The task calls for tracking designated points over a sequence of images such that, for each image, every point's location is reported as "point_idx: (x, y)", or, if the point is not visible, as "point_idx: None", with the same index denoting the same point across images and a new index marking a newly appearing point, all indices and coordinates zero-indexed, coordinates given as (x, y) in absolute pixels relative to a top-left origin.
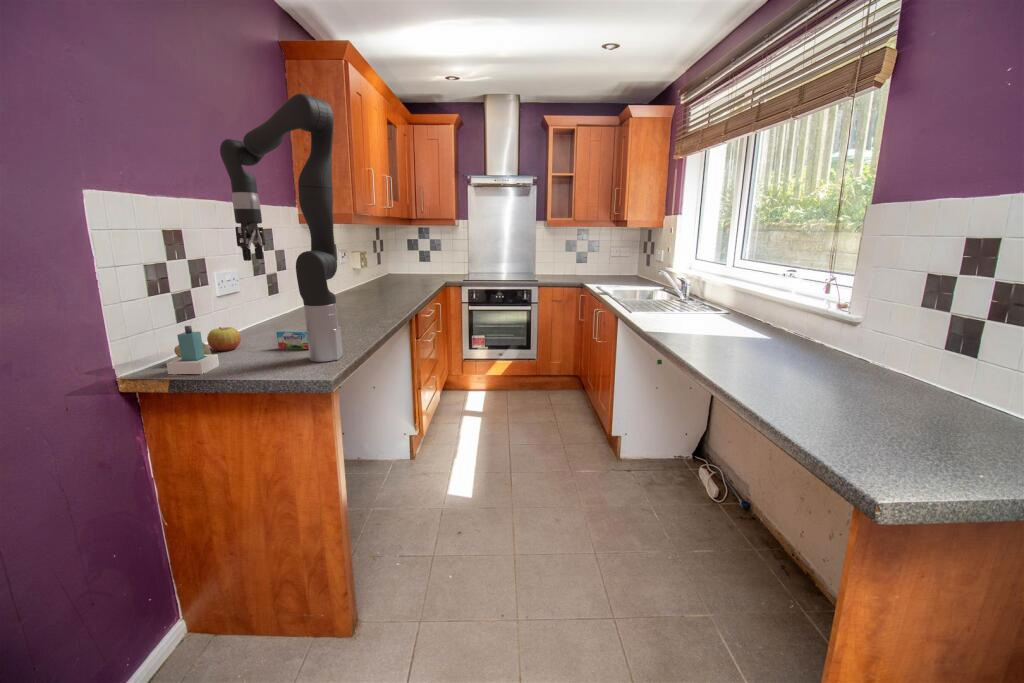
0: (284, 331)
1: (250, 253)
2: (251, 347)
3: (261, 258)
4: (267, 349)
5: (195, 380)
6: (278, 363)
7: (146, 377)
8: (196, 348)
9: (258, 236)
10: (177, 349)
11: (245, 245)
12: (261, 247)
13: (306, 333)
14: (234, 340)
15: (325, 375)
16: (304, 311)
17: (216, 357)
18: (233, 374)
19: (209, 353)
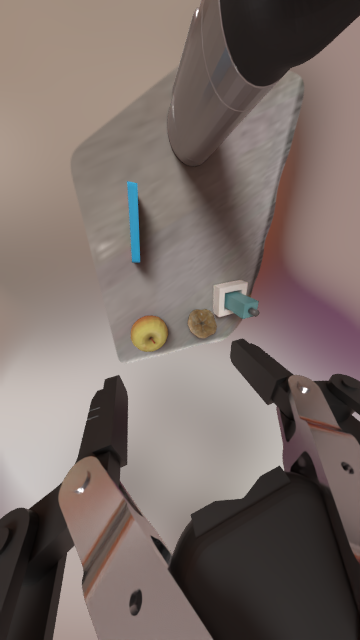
0: (136, 248)
1: (259, 357)
2: (133, 305)
3: (118, 379)
4: (141, 276)
5: (255, 272)
6: (212, 214)
7: (238, 318)
8: (244, 296)
9: (205, 628)
10: (214, 330)
11: (347, 376)
12: (91, 460)
13: (137, 193)
14: (154, 317)
15: (281, 91)
16: (257, 101)
17: (220, 287)
18: (246, 247)
19: (192, 313)
